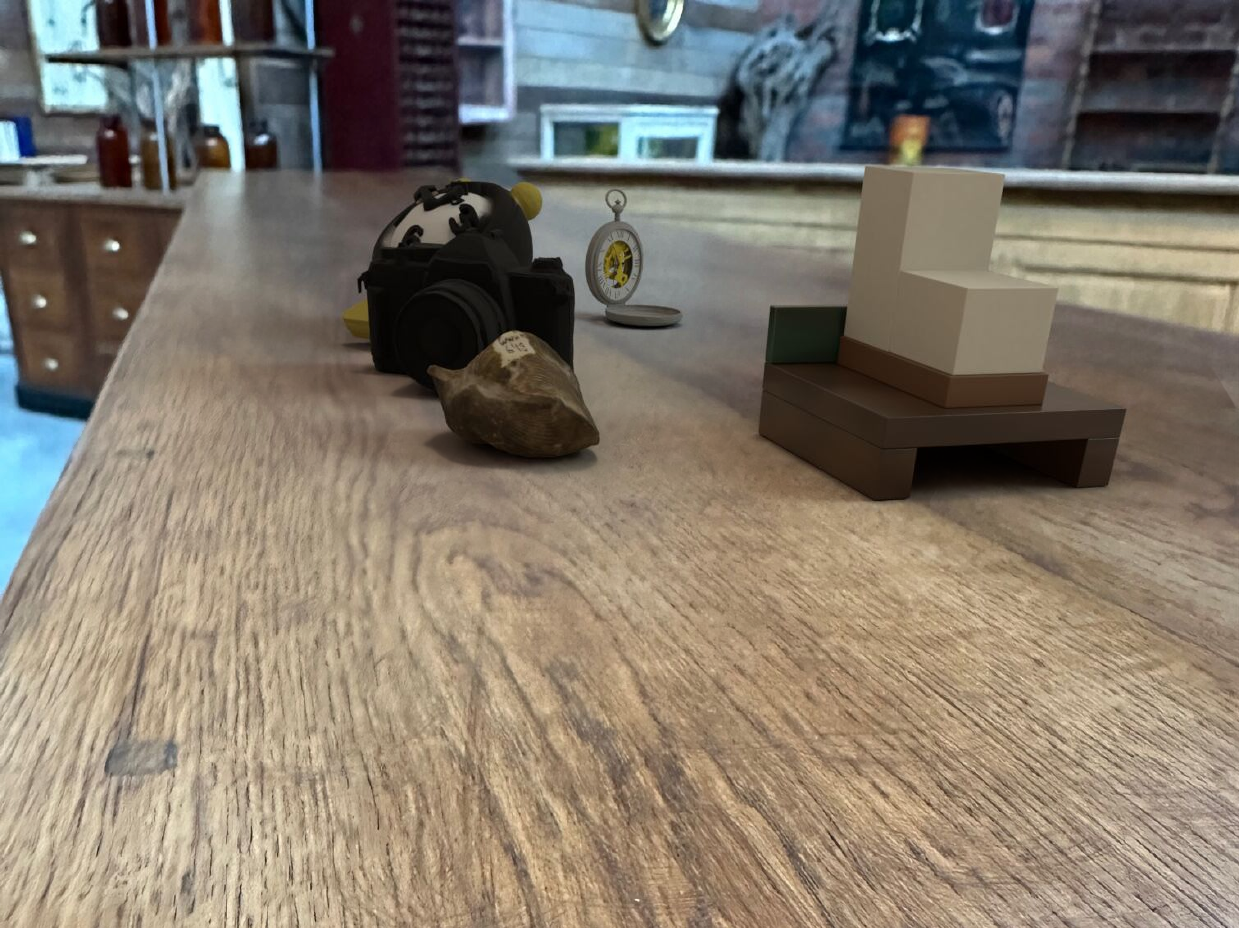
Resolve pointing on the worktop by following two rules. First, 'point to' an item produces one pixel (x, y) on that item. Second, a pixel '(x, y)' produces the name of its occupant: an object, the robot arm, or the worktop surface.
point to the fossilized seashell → (517, 399)
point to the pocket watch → (621, 273)
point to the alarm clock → (457, 224)
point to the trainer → (942, 293)
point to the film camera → (461, 303)
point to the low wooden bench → (911, 416)
